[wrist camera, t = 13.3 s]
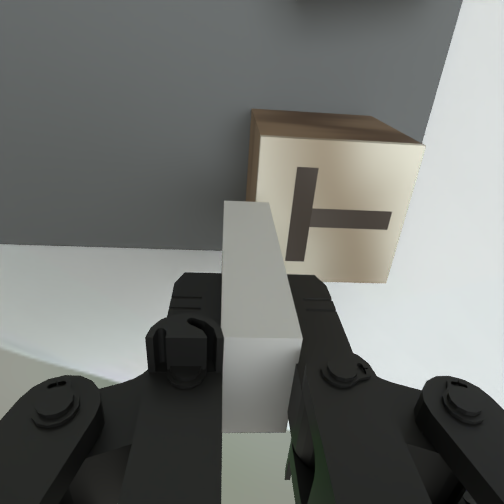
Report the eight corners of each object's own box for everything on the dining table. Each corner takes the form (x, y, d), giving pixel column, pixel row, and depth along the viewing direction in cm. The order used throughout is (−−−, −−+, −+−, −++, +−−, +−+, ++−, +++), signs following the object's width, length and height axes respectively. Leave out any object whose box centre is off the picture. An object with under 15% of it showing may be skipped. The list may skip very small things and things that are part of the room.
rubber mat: (-22, 239, 21) (-26, 243, 21) (-212, -339, 11) (-226, -350, 11) (387, 252, 23) (389, 255, 23) (523, -232, 13) (530, -239, 13)
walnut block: (386, 283, 16) (347, 224, 22) (426, 145, 14) (371, 115, 19) (250, 280, 16) (244, 220, 21) (261, 136, 13) (251, 108, 18)
